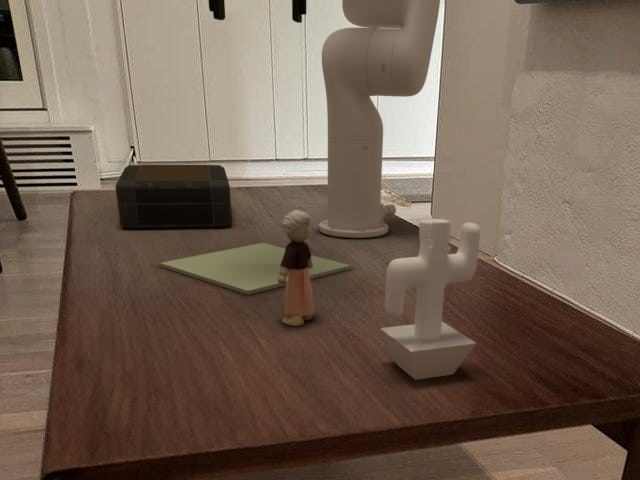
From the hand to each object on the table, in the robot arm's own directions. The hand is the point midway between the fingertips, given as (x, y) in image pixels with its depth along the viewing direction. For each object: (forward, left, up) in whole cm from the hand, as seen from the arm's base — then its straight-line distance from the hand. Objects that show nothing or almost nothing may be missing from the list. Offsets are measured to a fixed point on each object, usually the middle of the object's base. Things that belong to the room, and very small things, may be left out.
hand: (258, 20), depth 90 cm
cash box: (-16, -45, -32) cm, 58 cm away
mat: (-2, -5, -31) cm, 32 cm away
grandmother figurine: (+10, +17, -32) cm, 37 cm away
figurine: (+12, +38, -32) cm, 51 cm away
